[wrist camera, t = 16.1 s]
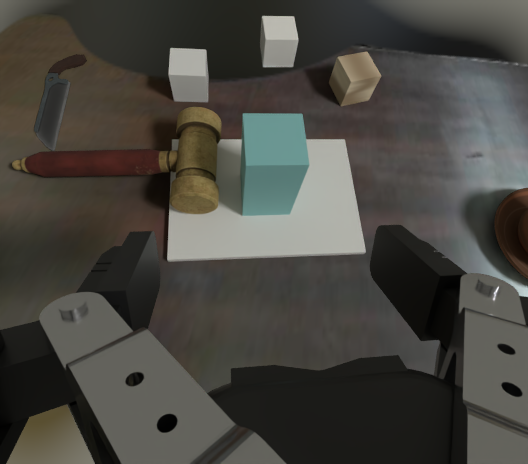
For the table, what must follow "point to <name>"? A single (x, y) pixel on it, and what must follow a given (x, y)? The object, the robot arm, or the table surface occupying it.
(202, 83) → the grey cube left
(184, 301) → the table surface
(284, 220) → the white mat
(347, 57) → the birch cube right
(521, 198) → the cup and saucer
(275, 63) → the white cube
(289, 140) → the teal block
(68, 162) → the gavel
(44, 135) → the knife
